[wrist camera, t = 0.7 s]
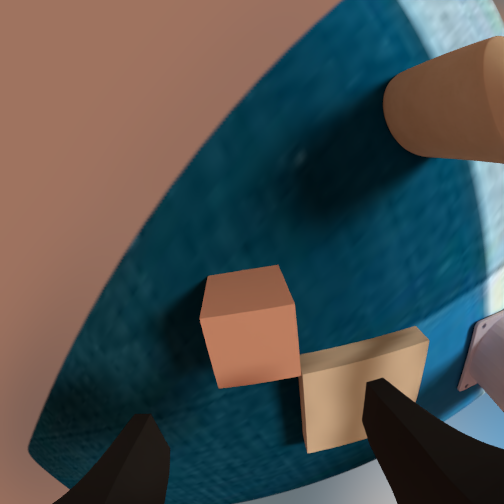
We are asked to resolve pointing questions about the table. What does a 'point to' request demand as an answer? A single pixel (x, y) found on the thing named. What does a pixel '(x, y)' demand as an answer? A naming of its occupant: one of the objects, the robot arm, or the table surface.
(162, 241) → the table surface
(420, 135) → the candle
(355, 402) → the birch block
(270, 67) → the table surface
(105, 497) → the robot arm
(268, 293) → the terracotta block
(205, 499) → the table surface
